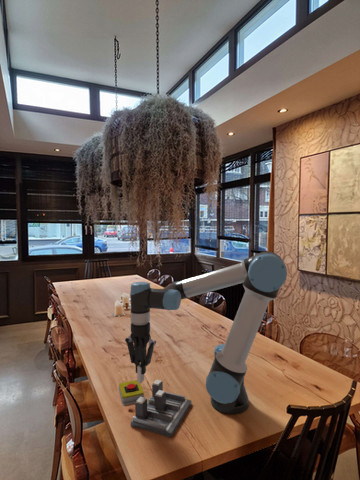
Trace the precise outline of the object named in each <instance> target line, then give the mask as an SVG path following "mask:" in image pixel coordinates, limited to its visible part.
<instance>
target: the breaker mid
mask: <svg viewBox="0 0 360 480" xmlns="http://www.w3.org/2000/svg"><path fill="white" fill-rule="evenodd" d="M166 392H167V391H165V390H163V391H162V390H159V391H158V392H157V393H156V395H155V409H158V410H162V411H164V410H165V408H166Z"/></svg>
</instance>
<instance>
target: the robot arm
mask: <svg viewBox="0 0 360 480" xmlns="http://www.w3.org/2000/svg"><path fill="white" fill-rule="evenodd" d="M287 270H288V269H287V267H286V264H285V262H284V260H283V259H282V257H281V256H280V255H278V253H276V252H273V251H267V250H266V251H260V252H259V253H257V254H254V255H253V256H250V257H247V258H244V259H243V260H241V262H239V263H237V264H232V265H230V266H227V267H223V268H220V269H217V270H213V271H210V272H206V273H203V274H200V275H195V276H193V277H189V278H186V279H182V280H180V281H179V280H177V281H173V282H172V283H170V284H168V285H167V286H165V287H163V288H152V287H151V285H150V282H148V281H135V282H133V283H132V284H131V285H130V294H129V296H130V298H129V299H130V335H129V336H127V337H126V338H124V342H125V343H126V345H127V350H128V354H129V359H130V362H131V364H134V365H135V373H136V377H137V378H136V380H137V383H140V384H142V383H143V382H144V380H145V374H146V372H147V366H149V365H150V364H151V362H152V358H153V353H154V348H155V346H156V344H157V341H156V340H153V339H152V336H151V334H150V333H151V322H150V321H151V309H155V310H166V311H178V310H179V308H180V306H181V303H182V300H185V299H188V298H192V297H196V296H199V295H203V294H205V293H210V292H214V291H217V290H221V289H224V288H228V287H231V286H232V287H233V286H236V285H238V284H242V286H243V288H244V293H243V296H242V298H241V300H240V301H241V302H240V303H239V307H238V310H237V311H236V314H235V317H234V319H233V322H232V325H231V327H230V330H229V333H228V335H227V337H226V340H225V343H222V344H221V343H220V344H217V345H216V346H215V347H214V351H213V354H214V359H213V362H212V364H211V367H210V370H209V372H208V375H207V376H206V379H205V389H206V391H207V393H208V395H209V396H210V404H211V406H212V407H213V408H214V410H216V411H218V412H220V413H223V414H227V415H237V414H241V413H243V412H245V411H247V410H248V408H249V405H250V404H249V401H250V400H249V395H248V393H247V389H246V387H245V377H246V373H247V372H248V365H247V364H246V360H247V359H248V356H249V353H250V351H251V349H252V346H253V343H254V341H255V339H256V336H257V333H258V332H259V329H260V327H261V324H262V321H263V319H264V317H265V314H266V311H267V308H268V306H269V304H270V301H274V300H276V299H277V297H278V294H279V292H280V289H281V287H282V286H283V285H284V284H285V282H286V280H287V275H288V272H287ZM147 347H148V349H147Z"/></svg>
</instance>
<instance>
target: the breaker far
mask: <svg viewBox="0 0 360 480" xmlns="http://www.w3.org/2000/svg"><path fill="white" fill-rule="evenodd" d="M163 382H164V381H162V380H161V379H155V380H154V382H153V383H152V384H151V392H152V393H151V394H152V395H151V397H155V395H156V393H157V392H158V391H159V390H162V391H164V385H163Z"/></svg>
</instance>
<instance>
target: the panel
mask: <svg viewBox="0 0 360 480" xmlns="http://www.w3.org/2000/svg"><path fill="white" fill-rule="evenodd" d="M165 392H166V408H165V410H164V411H162V410H158V409H155V397H152V396H150V397H149V398H147V410H148V415H147V416H146V418H145V419H143V418H139V417H136V416H135V415H133V416H132V420H131V421H130V426H131V427H133V428H137V429H140V430H144V431H148V432H151V433H154V434H158V435H160V436H164V437H168V438H172V437H173V436H174V434H175V432H176V430H177V428H178V427H179V426H180V424H181V422H182V420H183V419H184V417H185V416H186V414H187V413H188V411H189V410H190V407H191V405H192V402H193V401H192V399H187V398H186V395H181V394H177V393H173V392H168V391H165Z"/></svg>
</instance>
